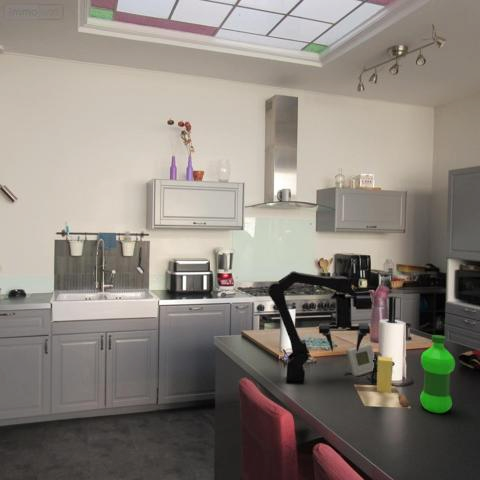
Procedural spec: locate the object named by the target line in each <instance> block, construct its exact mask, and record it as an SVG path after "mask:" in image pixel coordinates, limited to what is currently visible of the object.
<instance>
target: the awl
mask: <svg viewBox="0 0 480 480" xmlns="http://www.w3.org/2000/svg"><path fill="white" fill-rule="evenodd" d="M399 393H400V391H398V392H397V394H398V395H399V397H398V399H399V401H400V402H401V404H402V405H403V406H404V407H408V406H410V401H409V400H408V399H407V398H406V396H405V395H404V394H401V393H400V394H401V395H400V394H399Z"/></svg>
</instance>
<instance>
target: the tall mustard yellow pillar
mask: <svg viewBox="0 0 480 480" xmlns="http://www.w3.org/2000/svg"><path fill="white" fill-rule="evenodd" d="M393 363H394V362H393V357H388V356H377V369H376V371H377V372H376V373H377V375H376V378H377V379H376V386H377V392H386V393H391V386H392V383H393V382H392V381H393V380H392V379H393V377H392V376H393V367H394V365H393Z"/></svg>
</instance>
